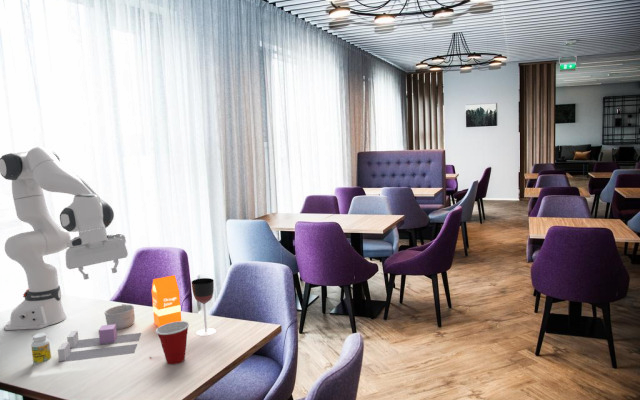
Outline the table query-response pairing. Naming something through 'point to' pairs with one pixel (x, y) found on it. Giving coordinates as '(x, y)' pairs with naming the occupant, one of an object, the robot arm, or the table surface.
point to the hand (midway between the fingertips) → (100, 275)
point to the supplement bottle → (40, 348)
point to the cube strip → (98, 340)
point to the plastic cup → (173, 340)
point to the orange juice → (166, 300)
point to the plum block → (107, 333)
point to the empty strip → (92, 352)
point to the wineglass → (203, 299)
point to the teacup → (120, 316)
